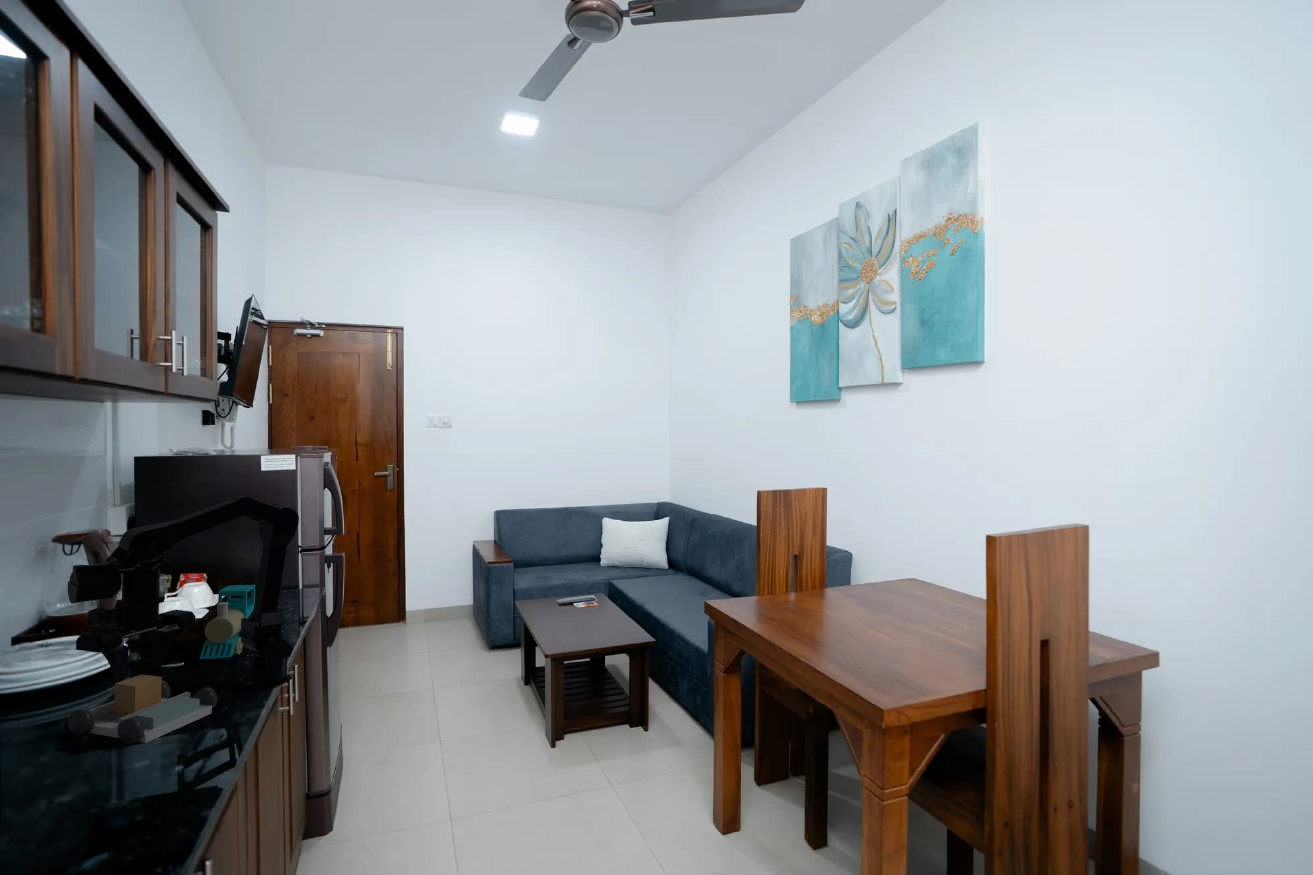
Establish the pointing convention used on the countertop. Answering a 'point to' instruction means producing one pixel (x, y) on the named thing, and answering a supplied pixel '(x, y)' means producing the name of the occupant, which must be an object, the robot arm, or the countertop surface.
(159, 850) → the countertop surface
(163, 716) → the chassis
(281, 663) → the robot arm
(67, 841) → the countertop surface
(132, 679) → the brown cardboard cube
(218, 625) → the toy train
